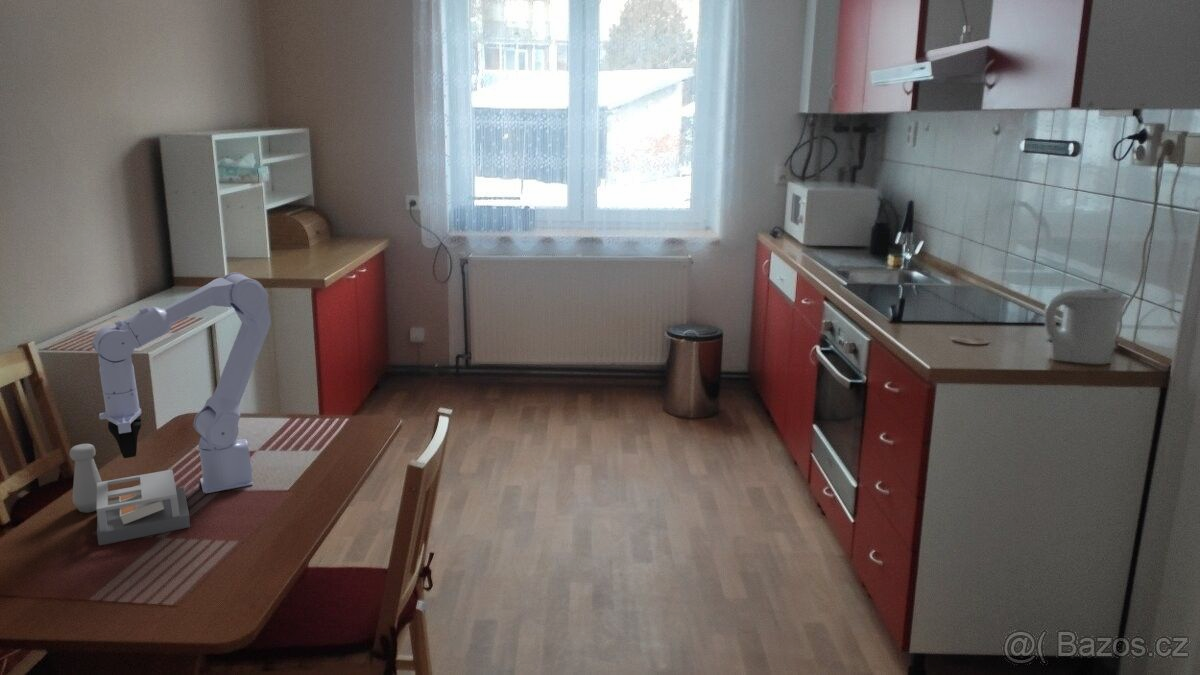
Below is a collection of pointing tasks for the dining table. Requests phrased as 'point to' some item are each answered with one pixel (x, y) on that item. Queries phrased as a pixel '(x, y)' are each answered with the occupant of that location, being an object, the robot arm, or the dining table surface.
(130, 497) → the rocker far
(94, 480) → the salt shaker
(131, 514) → the rocker near
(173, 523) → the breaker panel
